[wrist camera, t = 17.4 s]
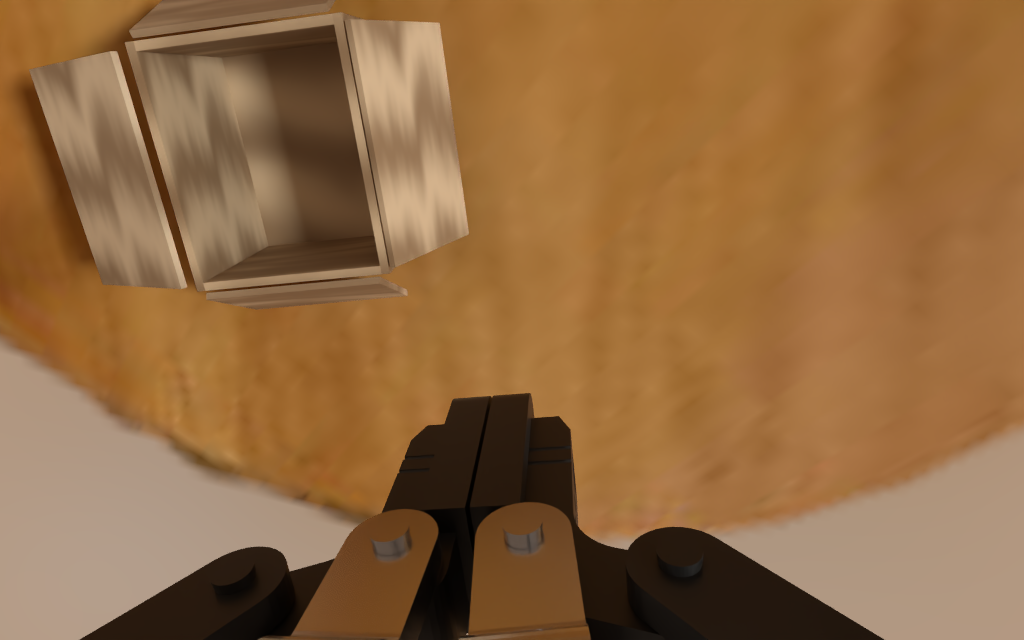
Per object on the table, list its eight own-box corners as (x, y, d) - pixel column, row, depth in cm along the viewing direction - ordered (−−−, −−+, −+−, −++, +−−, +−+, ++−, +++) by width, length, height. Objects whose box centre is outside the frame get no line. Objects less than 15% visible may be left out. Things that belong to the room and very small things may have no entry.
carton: (205, 1, 43) (102, -22, 33) (439, -32, 41) (403, -67, 31) (276, 289, 49) (208, 339, 40) (480, 270, 48) (461, 317, 38)
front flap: (116, 51, 34) (36, 69, 38) (109, 51, 34) (29, 69, 38) (187, 286, 39) (108, 282, 43) (181, 289, 38) (102, 284, 42)
